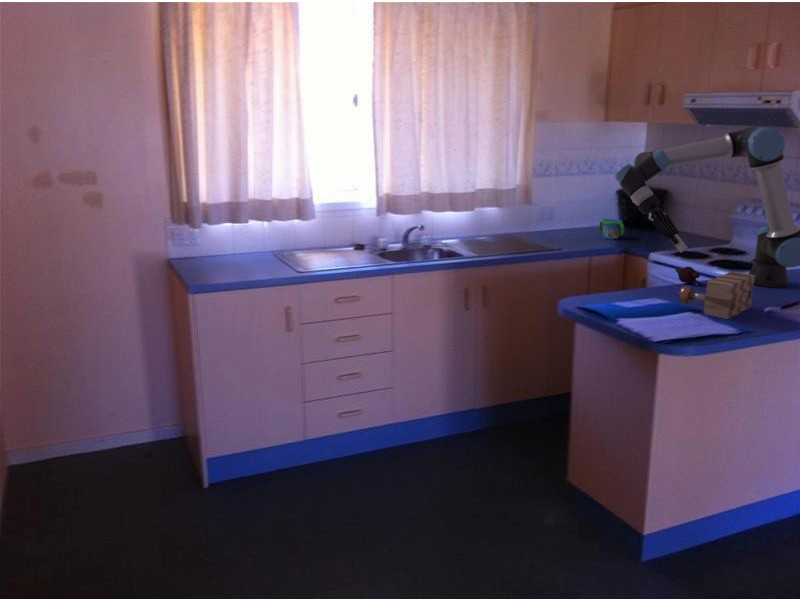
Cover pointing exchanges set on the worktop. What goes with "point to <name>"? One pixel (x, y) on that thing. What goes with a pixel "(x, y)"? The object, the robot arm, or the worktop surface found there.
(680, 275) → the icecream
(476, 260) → the worktop surface
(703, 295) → the terracotta knob
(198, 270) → the worktop surface
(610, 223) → the snack cup
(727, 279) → the block
